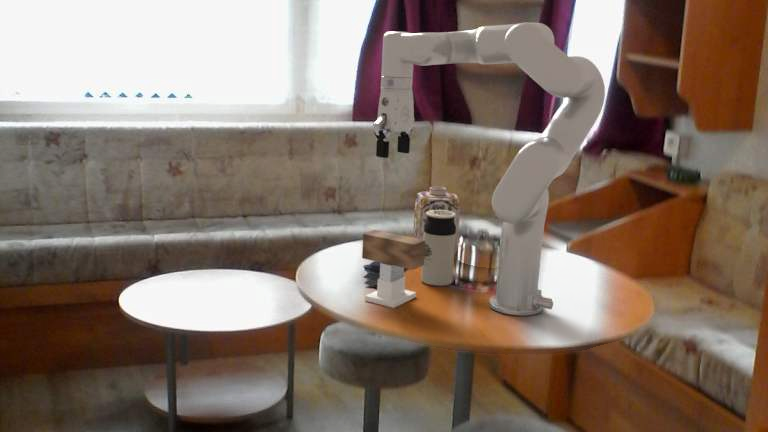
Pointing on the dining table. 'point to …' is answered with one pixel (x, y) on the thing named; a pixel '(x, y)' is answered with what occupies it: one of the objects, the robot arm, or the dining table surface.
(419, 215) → the decorative jar
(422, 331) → the dining table surface
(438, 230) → the travel mug
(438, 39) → the robot arm
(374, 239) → the wooden block
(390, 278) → the fulcrum stand
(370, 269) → the decorative bat
